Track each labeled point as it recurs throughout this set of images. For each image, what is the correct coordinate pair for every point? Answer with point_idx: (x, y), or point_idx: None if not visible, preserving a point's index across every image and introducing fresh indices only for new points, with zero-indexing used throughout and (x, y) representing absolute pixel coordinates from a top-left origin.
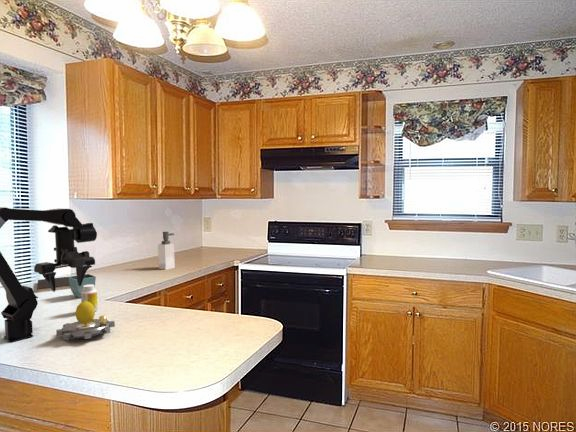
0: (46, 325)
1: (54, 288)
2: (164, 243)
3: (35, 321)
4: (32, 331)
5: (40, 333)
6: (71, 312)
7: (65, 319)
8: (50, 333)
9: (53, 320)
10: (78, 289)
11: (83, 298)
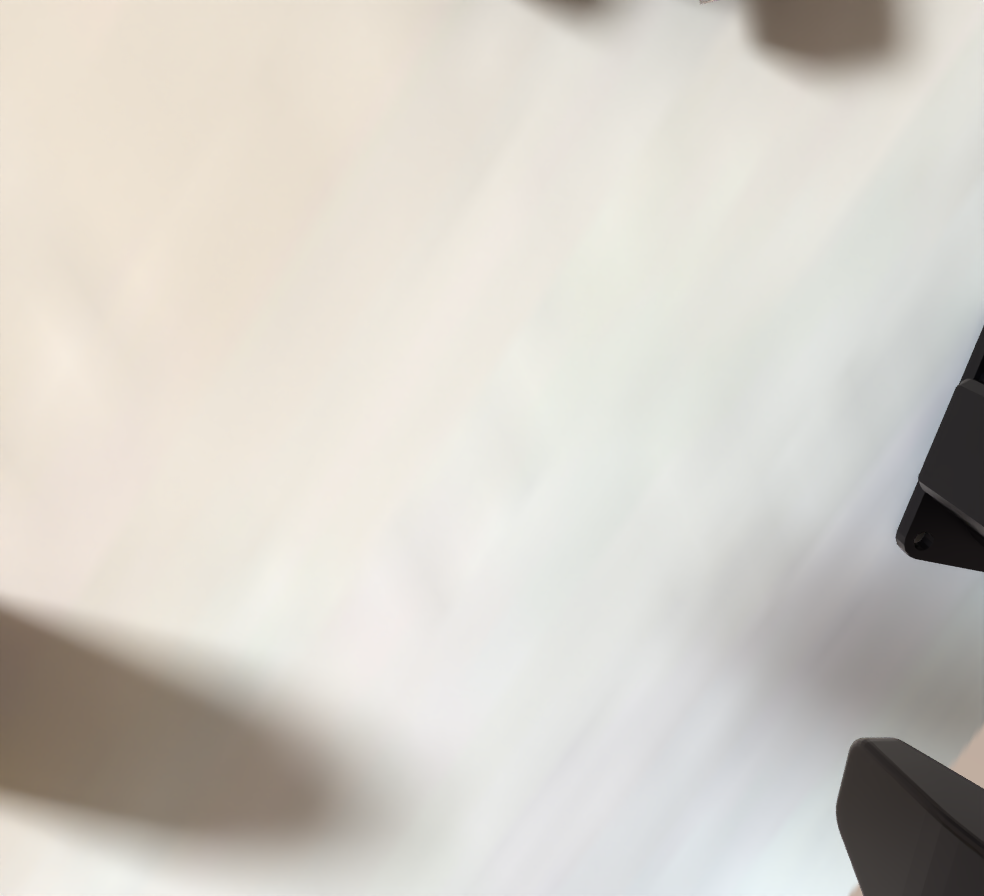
0: (596, 597)
1: (958, 798)
2: None
3: (550, 853)
4: (972, 388)
5: (854, 351)
6: (72, 833)
7: (308, 618)
8: (810, 217)
9: (419, 713)
10: None
11: None
